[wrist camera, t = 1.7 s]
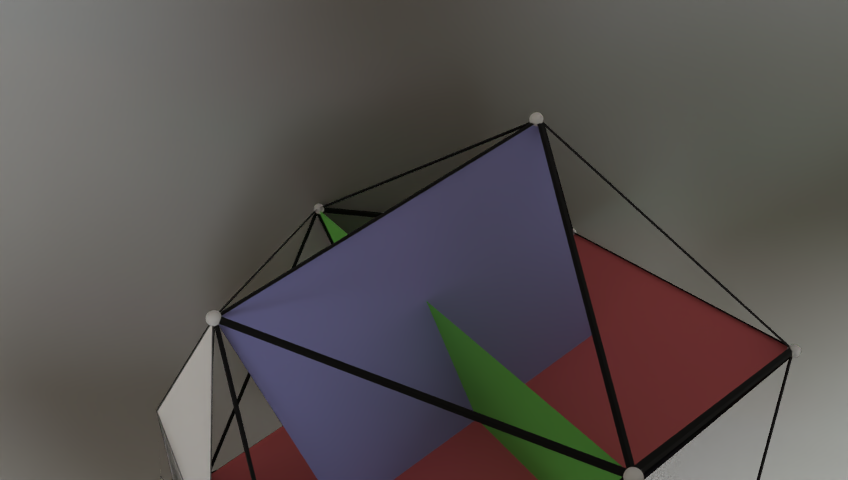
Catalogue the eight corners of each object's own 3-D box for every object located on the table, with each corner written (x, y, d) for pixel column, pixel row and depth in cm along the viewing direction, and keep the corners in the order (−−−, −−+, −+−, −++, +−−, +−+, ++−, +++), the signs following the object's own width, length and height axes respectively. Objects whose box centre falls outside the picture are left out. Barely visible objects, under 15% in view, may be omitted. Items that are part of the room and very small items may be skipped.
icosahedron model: (807, -4, 9) (619, 732, 3) (827, 399, 12) (752, 1050, 7) (322, 60, 12) (-113, 449, 7) (447, 352, 16) (218, 750, 11)
